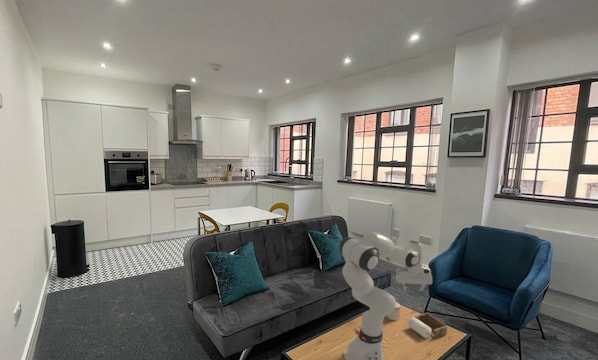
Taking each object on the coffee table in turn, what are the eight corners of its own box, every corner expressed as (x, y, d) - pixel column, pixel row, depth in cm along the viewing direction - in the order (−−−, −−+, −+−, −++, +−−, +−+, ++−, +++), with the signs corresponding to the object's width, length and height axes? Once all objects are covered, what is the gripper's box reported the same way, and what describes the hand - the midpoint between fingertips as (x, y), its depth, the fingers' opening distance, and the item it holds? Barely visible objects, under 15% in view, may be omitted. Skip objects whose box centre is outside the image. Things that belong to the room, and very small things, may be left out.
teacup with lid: (402, 320, 190) (402, 304, 189) (388, 321, 189) (389, 304, 188) (394, 310, 202) (395, 295, 201) (382, 311, 201) (382, 295, 200)
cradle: (435, 338, 172) (435, 329, 171) (413, 323, 187) (414, 315, 186) (446, 334, 176) (447, 325, 176) (424, 320, 191) (425, 311, 190)
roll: (431, 337, 173) (432, 326, 173) (422, 339, 170) (424, 328, 170) (415, 326, 184) (416, 316, 184) (407, 328, 181) (408, 317, 181)
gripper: (397, 269, 166) (396, 291, 167) (434, 270, 164) (432, 293, 165) (395, 264, 172) (394, 286, 173) (430, 266, 170) (429, 288, 171)
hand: (413, 290), depth 169 cm, fingers open, 8 cm apart
